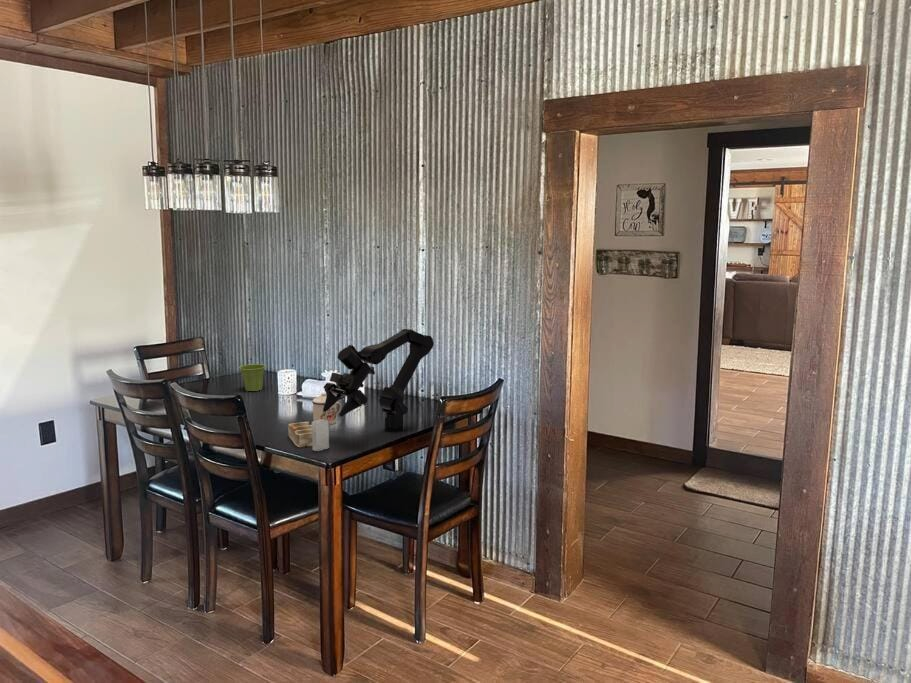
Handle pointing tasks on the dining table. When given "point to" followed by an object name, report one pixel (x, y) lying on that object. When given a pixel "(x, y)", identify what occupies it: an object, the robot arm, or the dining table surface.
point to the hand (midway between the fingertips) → (331, 413)
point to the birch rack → (300, 434)
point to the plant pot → (252, 376)
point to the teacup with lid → (320, 414)
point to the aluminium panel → (320, 435)
